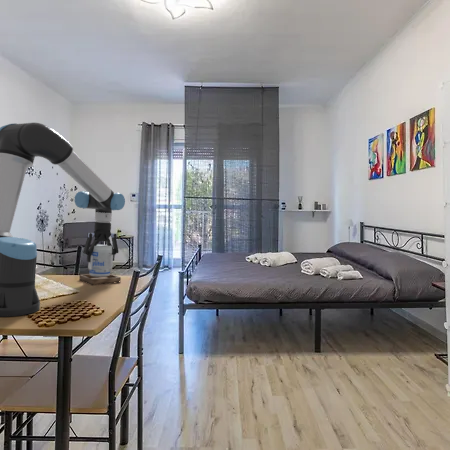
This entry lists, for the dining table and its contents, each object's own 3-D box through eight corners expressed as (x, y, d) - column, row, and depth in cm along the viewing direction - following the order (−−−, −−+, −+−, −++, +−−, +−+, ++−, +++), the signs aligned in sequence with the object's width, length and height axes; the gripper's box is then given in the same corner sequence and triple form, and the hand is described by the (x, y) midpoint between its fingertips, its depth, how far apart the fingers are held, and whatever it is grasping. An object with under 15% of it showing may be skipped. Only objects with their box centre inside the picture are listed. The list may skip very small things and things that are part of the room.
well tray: (92, 285, 159) (92, 279, 159) (79, 280, 169) (79, 274, 169) (120, 282, 169) (120, 277, 169) (106, 277, 179) (106, 272, 179)
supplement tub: (87, 277, 163) (89, 245, 163) (90, 273, 172) (92, 244, 172) (109, 277, 165) (111, 246, 165) (111, 274, 174) (113, 244, 174)
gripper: (83, 221, 157) (80, 270, 158) (127, 223, 173) (125, 268, 174) (76, 220, 163) (74, 268, 163) (120, 222, 179) (117, 265, 179)
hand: (100, 268), depth 169 cm, fingers closed on supplement tub, 9 cm apart
